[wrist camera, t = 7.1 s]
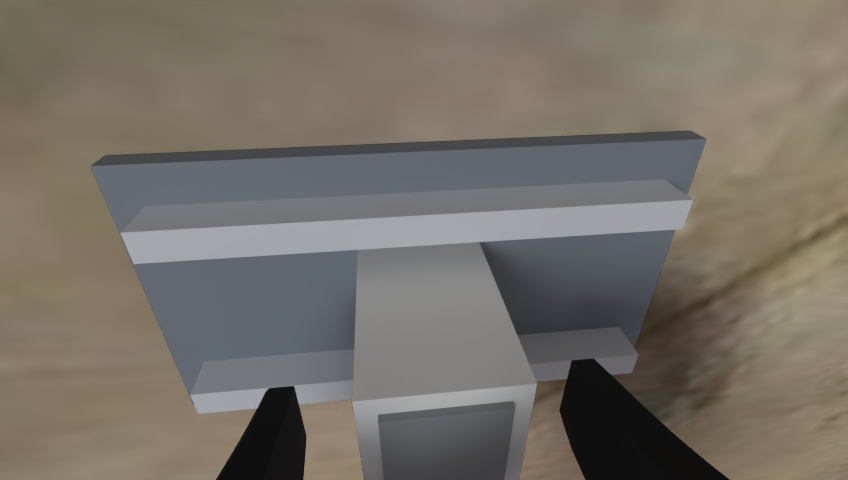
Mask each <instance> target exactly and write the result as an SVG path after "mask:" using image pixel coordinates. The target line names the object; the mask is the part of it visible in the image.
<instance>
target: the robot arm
mask: <svg viewBox="0 0 848 480" xmlns="http://www.w3.org/2000/svg"><path fill="white" fill-rule="evenodd" d="M560 414H561V417H562V420H563V424H564V427H565V430H566V433H567V436H568V439H569V442H570V445H571V448H572V451H573V453H574V455H575V457H576V460H577V462H578V464H579V466H580V469H581V471H582V473H583V475H584V477H585V480H729V479H728V478H727V477H725V476H724V475H723V474H721V473H720V472H719V471H718V470H716V469H715V468H714V467H713V466H711V465H710V464H709V463H708V462H706V461H705V460H704V459H703V458H702V457H700V456H699V455H698V454H697V453H696V452H694V451H693V450H692V449H691V448H690V447H688V446H687V445H686V444H685V443H684V442H683V441H682V440H680V439H679V438H678V437H677V436H676V435H675V434H673V433H672V432H671V431H670V430H669V429H668V428H667V427H666V426H665V425H664V424H662V423H661V422H660V421H659V420H658V419H657V418H656V417H655V416H654V415H653V414H651V413H650V412H649V411H648V410H647V409H646V408H645V407H644V406H643V405H642V404H641V403H640V402H639V401H638V400H637V399H635V398H634V397H633V396H632V395H631V394H630V393H629V392H628V391H627V390H626V389H625V388H624V387H623V386H622V385H621V384H620V383H619V382H618V381H617V380H616V379H615V378H614V377H613V376H612V375H611V374H610V373H608V372H607V371H606V370H605V369H604V368H603V367H602V366H601V365H600V364H599V363H598V362H597V361H596V360H595V359H594V358H592V359H581V360H572V361H571V365H570V369H569V373H568V377H567V382H566V386H565V390H564V394H563V398H562V402H561V407H560ZM305 449H306V433H305V429H304V425H303V421H302V416H301V412H300V408H299V404H298V399H297V395H296V391H295V387H294V386H287V387H276V388H269V389H268V390H267V391H266V392H265V394H264V396H263V398H262V400H261V402H260V404H259V406H258V408H257V410H256V412H255V414H254V415H253V417H252V419H251V421H250V423H249V425H248V427H247V428H246V430H245V432H244V434H243V435H242V437H241V439H240V441H239V442H238V444H237V446H236V447H235V449H234V451H233V452H232V454H231V456H230V457H229V459H228V461H227V462H226V464H225V466H224V467H223V469H222V471H221V472H220V474H219V476H218V477H217V479H216V480H303V476H304V464H305Z"/></svg>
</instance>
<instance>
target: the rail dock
mask: <svg viewBox="0 0 848 480" xmlns="http://www.w3.org/2000/svg"><path fill="white" fill-rule="evenodd" d="M705 142H706V138H704V137H702V136H700V135H698V134H696V133H694V132H692V131H676V132H652V133H629V134H605V135H581V136H558V137H534V138H510V139H487V140H463V141H439V142H416V143H392V144H368V145H345V146H321V147H298V148H274V149H250V150H227V151H203V152H179V153H156V154H132V155H108V156H104V157H102V158H101V159H99V160H98V161H97V162H95V163H94V164H92V165H91V166H90V167H91V170H92V172H93V174H94V176H95V179H96V181H97V183H98V186H99V188H100V190H101V193H102V195H103V197H104V200H105V202H106V204H107V206H108V209H109V211H110V213H111V216H112V218H113V220H114V223H115V225H116V227H117V230H118V232H119V234H120V236H121V239H122V241H123V243H124V246H125V248H126V250H127V253H128V255H129V257H130V260H131V262H132V264H133V267H134V269H135V271H136V273H137V276H138V278H139V280H140V283H141V285H142V287H143V290H144V292H145V294H146V297H147V299H148V301H149V303H150V306H151V308H152V310H153V313H154V315H155V317H156V320H157V322H158V324H159V327H160V329H161V331H162V333H163V336H164V338H165V340H166V343H167V345H168V347H169V350H170V352H171V354H172V357H173V359H174V361H175V363H176V366H177V368H178V370H179V373H180V375H181V377H182V380H183V382H184V384H185V387H186V389H187V391H188V393H189V396H190V398H191V400H192V403H193V405H195V407H196V410H197V412H198V414H202V413H213V412H224V411H234V410H245V409H255V408H258V406H259V404H260V402H261V400H262V398H263V396H264V394H265V392H266V391H267V390H268V389H269V388H276V387H287V386H294V387H295V391H296V395H297V399H298V404H309V403H319V402H330V401H340V400H351V399H353V372H354V343H355V313H356V284H357V255H358V250H363V249H379V248H394V247H410V246H426V245H441V244H457V243H473V242H479V243H480V245H481V248H482V250H483V253H484V255H485V258H486V260H487V262H488V265H489V267H490V270H491V272H492V275H493V277H494V279H495V282H496V284H497V287H498V289H499V292H500V294H501V297H502V299H503V301H504V304H505V306H506V309H507V311H508V314H509V316H510V319H511V321H512V323H513V326H514V328H515V331H516V333H517V336H518V338H519V341H520V343H521V345H522V348H523V350H524V353H525V355H526V358H527V360H528V362H529V365H530V367H531V370H532V372H533V375H534V377H535V380H536V382H542V381H553V380H564V379H567V377H568V373H569V369H570V365H571V361H572V360H581V359H592V358H594V359H595V360H596V361H597V362H598V363H599V364H600V365H601V366H602V367H603V368H604V369H605V370H606V371H607V372H608V373H610V374H611V375H617V374H627V373H632V372H633V369H634V366H635V363H636V360H637V358H638V355H639V354H638V353H637V352H636V350H635V349H634V348H635V346H636V343H637V340H638V337H639V334H640V331H641V328H642V325H643V322H644V319H645V316H646V314H647V311H648V308H649V305H650V302H651V299H652V296H653V293H654V290H655V287H656V284H657V282H658V279H659V276H660V273H661V270H662V267H663V264H664V261H665V258H666V255H667V252H668V250H669V247H670V244H671V241H672V238H673V235H674V232H675V230H677V229H683V228H684V225H685V222H686V219H687V216H688V213H689V211H690V208H691V205H692V202H693V199H691V198H690V197H689V196H687V194H688V191H689V188H690V185H691V183H692V180H693V177H694V174H695V171H696V168H697V165H698V162H699V159H700V156H701V153H702V151H703V148H704V145H705Z"/></svg>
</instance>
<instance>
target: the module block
mask: <svg viewBox="0 0 848 480" xmlns="http://www.w3.org/2000/svg"><path fill="white" fill-rule="evenodd" d="M536 388H537V382H536V380H535V377H534V375H533V372H532V370H531V367H530V365H529V362H528V360H527V358H526V355H525V353H524V350H523V348H522V345H521V343H520V341H519V338H518V336H517V333H516V331H515V328H514V326H513V323H512V321H511V319H510V316H509V314H508V311H507V309H506V306H505V304H504V301H503V299H502V297H501V294H500V292H499V289H498V287H497V284H496V282H495V279H494V277H493V275H492V272H491V270H490V267H489V265H488V262H487V260H486V258H485V255H484V253H483V250H482V248H481V245H480V243H479V242H473V243H457V244H441V245H426V246H410V247H394V248H379V249H363V250H358V255H357V284H356V313H355V343H354V372H353V401H352V402H353V409H354V416H355V423H356V429H357V436H358V443H359V450H360V457H361V464H362V471H363V477H364V480H519V478H520V473H521V468H522V462H523V457H524V452H525V446H526V441H527V436H528V430H529V425H530V420H531V414H532V409H533V404H534V398H535V393H536Z"/></svg>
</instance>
